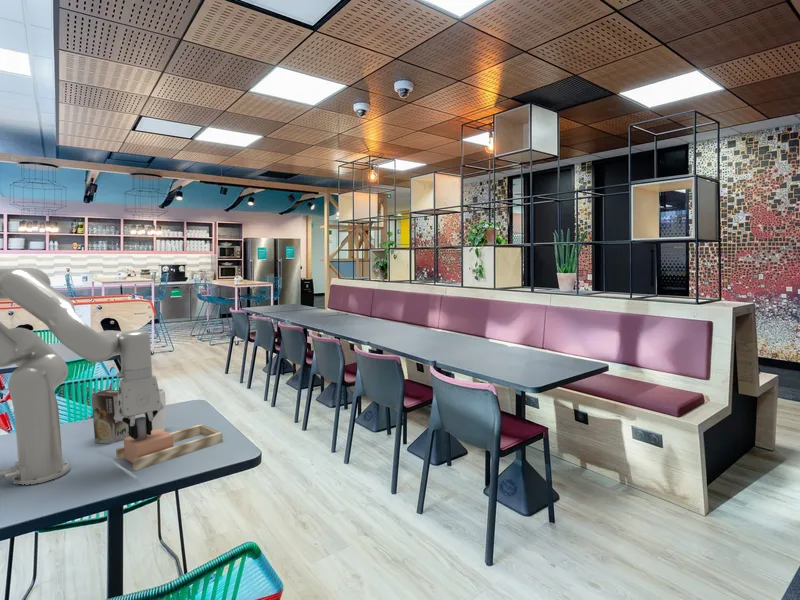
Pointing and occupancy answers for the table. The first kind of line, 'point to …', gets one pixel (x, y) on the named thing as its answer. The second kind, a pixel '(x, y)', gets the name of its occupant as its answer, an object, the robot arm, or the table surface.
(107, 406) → the coffee box
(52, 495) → the table surface
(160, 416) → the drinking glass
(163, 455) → the bay
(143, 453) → the salmon block with knob
